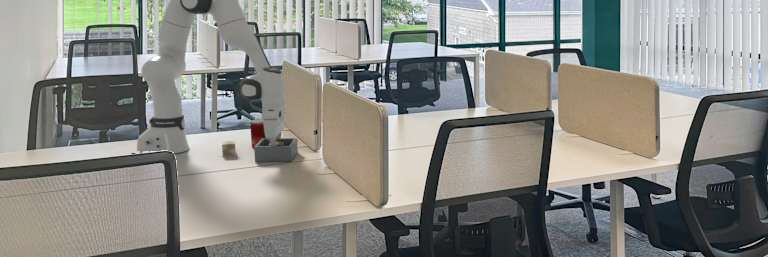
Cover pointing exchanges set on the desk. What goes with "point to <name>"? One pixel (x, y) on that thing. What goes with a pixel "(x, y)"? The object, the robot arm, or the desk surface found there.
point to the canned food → (257, 131)
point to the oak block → (228, 148)
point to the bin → (276, 151)
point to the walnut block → (278, 144)
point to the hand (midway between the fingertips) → (276, 145)
